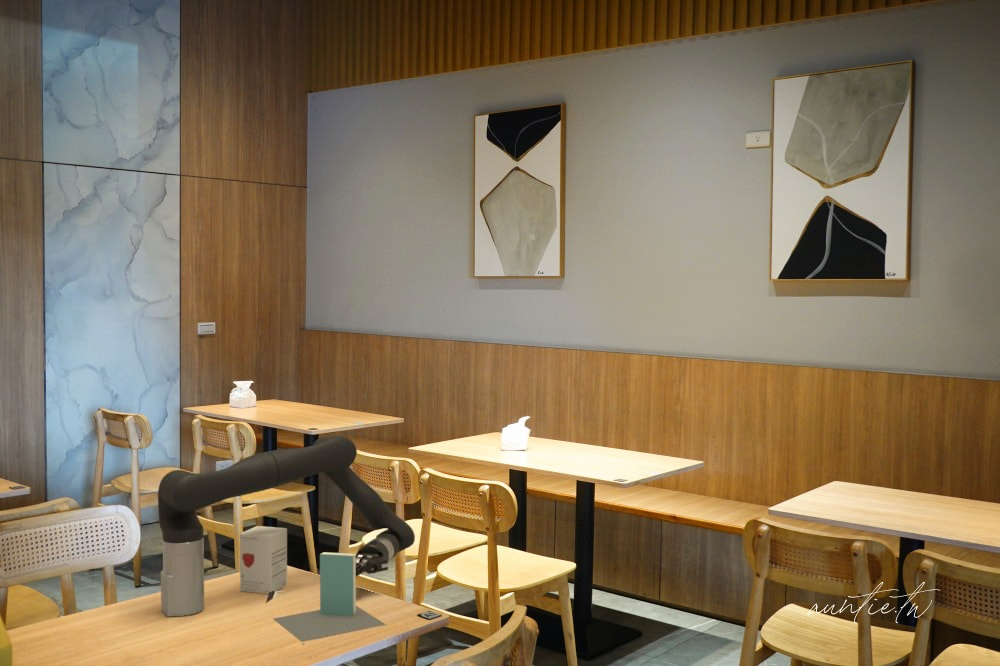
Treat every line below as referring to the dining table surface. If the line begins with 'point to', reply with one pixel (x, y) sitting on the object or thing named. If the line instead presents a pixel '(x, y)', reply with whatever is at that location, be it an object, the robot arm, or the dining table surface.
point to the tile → (337, 584)
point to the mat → (326, 624)
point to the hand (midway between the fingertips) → (352, 573)
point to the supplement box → (263, 559)
